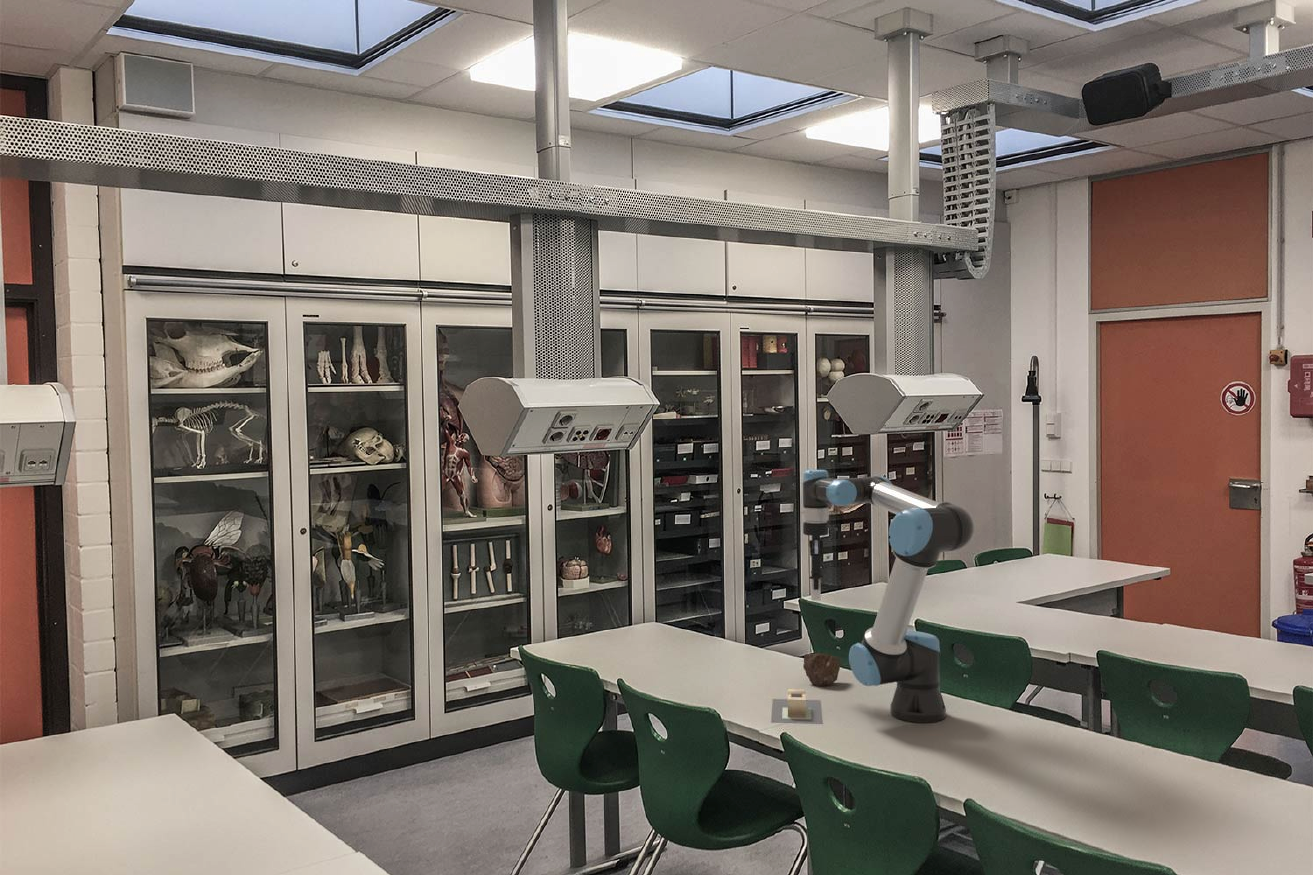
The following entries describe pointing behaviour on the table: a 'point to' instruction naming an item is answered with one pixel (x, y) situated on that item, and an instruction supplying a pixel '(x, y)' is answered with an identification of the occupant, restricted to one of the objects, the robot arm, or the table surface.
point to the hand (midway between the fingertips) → (816, 599)
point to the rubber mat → (782, 717)
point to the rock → (821, 668)
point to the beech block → (796, 703)
